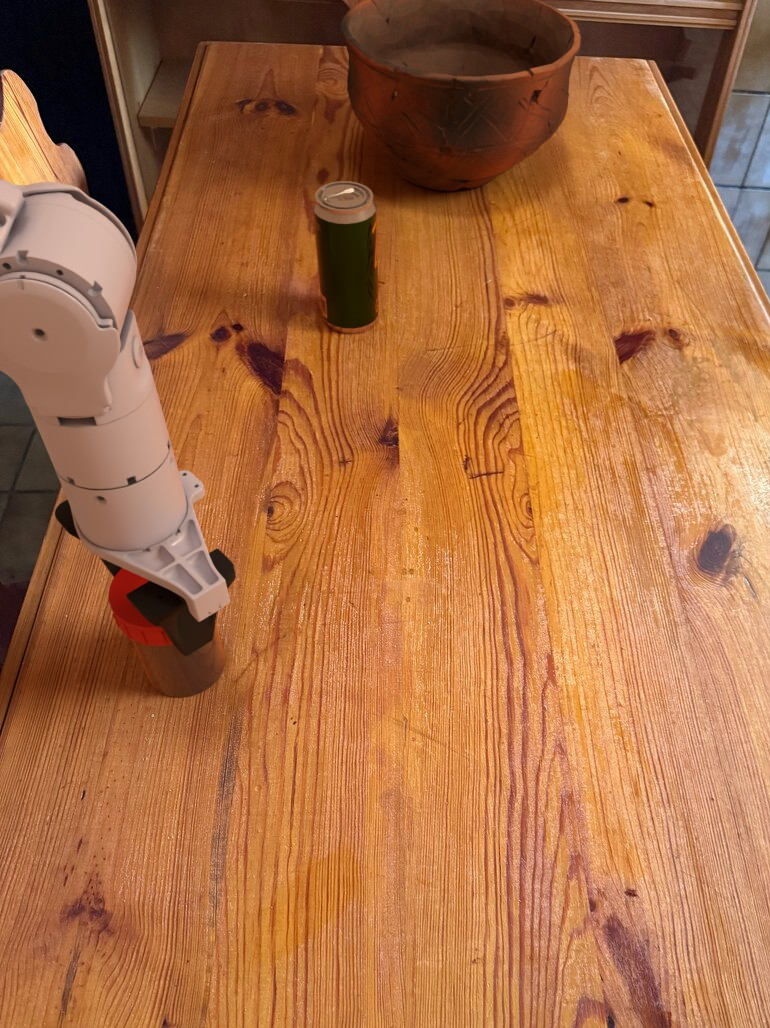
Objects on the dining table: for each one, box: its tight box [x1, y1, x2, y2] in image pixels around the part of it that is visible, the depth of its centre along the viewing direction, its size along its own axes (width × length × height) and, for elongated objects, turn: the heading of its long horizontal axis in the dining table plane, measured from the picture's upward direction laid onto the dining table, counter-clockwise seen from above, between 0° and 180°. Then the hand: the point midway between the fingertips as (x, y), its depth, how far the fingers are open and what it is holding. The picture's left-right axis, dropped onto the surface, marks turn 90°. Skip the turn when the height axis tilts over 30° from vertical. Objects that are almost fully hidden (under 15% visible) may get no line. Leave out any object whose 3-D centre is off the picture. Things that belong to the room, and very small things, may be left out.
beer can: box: [312, 180, 380, 334], centre depth 80 cm, size 5×5×12 cm
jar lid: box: [108, 568, 173, 646], centre depth 54 cm, size 6×6×2 cm
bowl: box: [339, 0, 582, 192], centre depth 97 cm, size 25×25×15 cm
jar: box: [131, 623, 226, 698], centre depth 57 cm, size 5×5×8 cm
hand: (168, 613), depth 55 cm, fingers closed on jar lid, 6 cm apart
